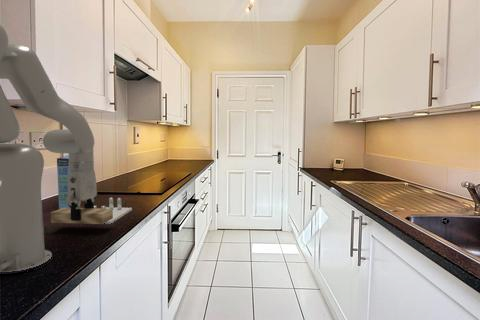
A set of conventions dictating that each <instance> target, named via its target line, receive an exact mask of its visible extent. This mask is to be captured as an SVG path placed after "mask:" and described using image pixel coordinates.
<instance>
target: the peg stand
mask: <svg viewBox="0 0 480 320" xmlns="http://www.w3.org/2000/svg"><path fill="white" fill-rule="evenodd" d="M116 205H117V207H114V197H109V198H108V206H107V205H101V207H100V209H113V219H111V220H109V221H107V222H105V224H104V223H103V224H102V225H112V224H113V223H114V221H115V222H116V221H118V220H119V219H121V218H122V217H124V216H125V215H126V214H128V213H130V212H131V211H133V208H132V207H122V198H121V197H117V198H116ZM94 208H98V207H97V204H96V205H95V204H94ZM111 223H112V224H111Z"/></svg>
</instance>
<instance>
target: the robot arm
mask: <svg viewBox="0 0 480 320" xmlns="http://www.w3.org/2000/svg"><path fill="white" fill-rule="evenodd" d="M0 79H1V80H3V79H5V80H9V83H10V84H11V85H12V87H13V89H14V90H15V91H16V93H17V95H18V97H19V98H20V99H21V101H22V103H23V104H24V106H25V108H26V109H28V110H29V111H31V112H33V113H35V114H38V115H40V116H42V117H46V118H48V119H50V120H53V121H56V122H57V123H60V124H61V125H63V126H64V127H65V128H66V129H52V130H49V131H47V132H46V133H45V134H44V135H43V139H42V145H43V146H44V148H45V149H46V150H47V151H49V152H51V153H54V154H68V155H69V178H68V196H67V198H66V202H67V204H68V206H69V209H71V220H72V221H80V220H81V209H79V208H81V203H82V202H85V203H84V207H83V208H94V205H95V199H96V196H97V195H98V189H97V177H96V173H95V169H94V168H95V167H94V165H95V164H94V157H95V156H94V147H95V137H94V134H93V131H92V129H91V128H90V125H89V122H88V121H87V119H86V118H85V117H84V115H83V114H82V113H80V111H78V109H76V108H74V106H72V105H71V104H69V103H68V101H65V100H64V99H63V98H61V97H60V96H59V95H58V93H57V91H56V88H55V87H54V85H53V84H52V81H51V80H50V77H49V75H48V74H47V72H46V71H45V68H44V67H43V64H42V63H41V61H40V58H39V57H38V55H37V54H36V52H35V51H34V50H33V49H32V48H30V47H29V46H26V45H23V44H17V43H16V44H15V43H12V44H11V43H9V36H8V34H7V31H6V30H5V28H4V26H2V24H0ZM20 131H21V129H20V124H19V121H18V119H17V116H16V115H15V113H14V110H13V108H12V106H11V104H10V102H9V100H8V98H7V96H6V95H5V92H4V90H3V87H2V86H1V84H0V182H1V184H0V272H12V271H21V270H26V269H29V268H33V267H36V266H39V265H41V264H43V263H45V262H47V261H48V260H49V259H51V257H52V258H53V253H52V252H51V251H50V250H48V249H46V248H45V235H44V234H45V232H44V231H45V230H44V218H43V217H44V215H43V203H42V179H43V177H42V176H43V172H44V167H45V165H44V164H45V160H44V157H43V154H42V153H41V151H40V150H39V149H38V148H36V147H34V146H33V145H29V144H24V143H23V144H22V143H10V142H13V141H14V140H16V139H18V136H19V135H20ZM75 202H77V203H76V204H75ZM51 260H52V259H51Z"/></svg>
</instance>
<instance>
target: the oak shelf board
mask: <svg viewBox="0 0 480 320" xmlns="http://www.w3.org/2000/svg"><path fill="white" fill-rule="evenodd" d="M79 209H81V220H80V221H72V220H71V209H69V208H62V209H59V208H58V209H57V210H54V211H51V212H50V223H54V224H56V223H57V224H58V223H59V224H85V225H87V224H88V225H91V224H92V225H104V224H103V223H105V222H107V221H109V220H111V219H113V209H101V208H98V207H97V208H84V207H79Z"/></svg>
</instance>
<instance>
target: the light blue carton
mask: <svg viewBox="0 0 480 320" xmlns="http://www.w3.org/2000/svg"><path fill="white" fill-rule="evenodd" d="M56 168H57V169H56V171H57V191H58V193H57V194H58V210H59V209H62V208H69V206H68V204H67V202H66V198H67V196H68V178H69V154H68V155H65V156H62V157H59V158H58V157H57V158H56ZM75 204H76V205H77V202H75Z"/></svg>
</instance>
